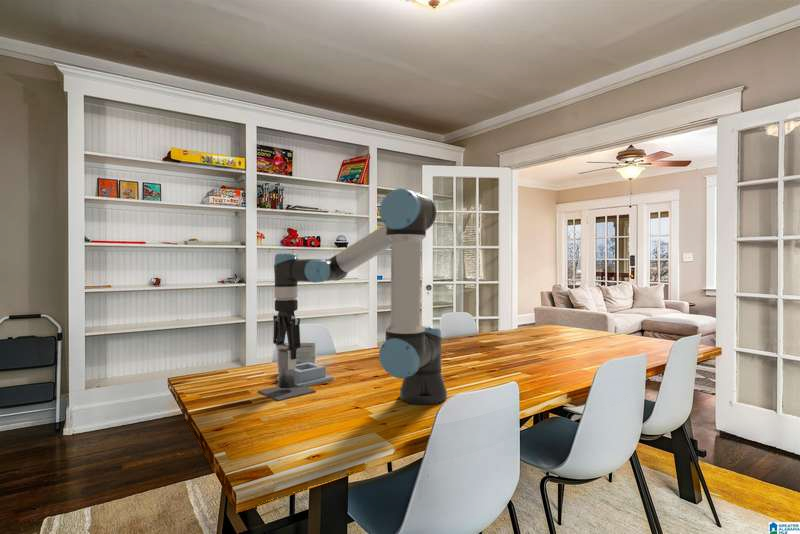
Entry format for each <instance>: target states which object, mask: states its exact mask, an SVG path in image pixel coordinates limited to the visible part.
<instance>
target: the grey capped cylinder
mask: <svg viewBox="0 0 800 534" xmlns="http://www.w3.org/2000/svg"><path fill="white" fill-rule="evenodd" d="M277 349H278V366H277V367H278V370H277V371H278V376H277V377H278V381H277V382H278V383H277V384H278V385H277V386H279V388H291V387H294V386H295V369H291V370H288V350H287V349H289V344H288V342H286V343H285V342H284V343H282V344H278V345H277V346H276V350H277Z"/></svg>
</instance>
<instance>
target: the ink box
mask: <svg viewBox="0 0 800 534" xmlns="http://www.w3.org/2000/svg"><path fill="white" fill-rule="evenodd" d="M307 362H311V363H315V364H317V341H315V340H311V341H309V340H308V341H306V340H305V341H304V340H302V341H301V340H300V348H297V349H296V364H302V363H307Z"/></svg>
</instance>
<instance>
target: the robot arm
mask: <svg viewBox="0 0 800 534" xmlns="http://www.w3.org/2000/svg"><path fill="white" fill-rule="evenodd" d="M380 203H381V204H380V206H379V217H380V220H381V221H382V223H383V224H384V225H381V226H380V227H378V228H376V229H375V230H374V231H372V232H370V233H369V234H366V235H364V237H362V238H361V239H358V240H357V241H356V242H354V243H353V244H350V246H348V247H346V248H345V249H342V250H341V251H340V252H338V253H337V254H335V255H333V256H332V257H330V258H327V259H326V258H322V259H321V258H306V259H305V258H301V259H299V258H298V254H297V253H292V252H291V253H288V252H287V253H276V254H275V256H274V261H273V262H274V265H273V269H274V271H273V272H274V286H273V287H274V289H273V290H274V311H275V312H277V315H276V314H275V315H273V339H272V341H273V344H274V345H275V347H277V345H278V344H282V343H285V340H286V337H287V343H288V344H289V349H287V350H288V370H291V369H296V349H297V348H300V341H301V332H300V331H301V330H300V322H301V319H300V317H296V315H295V312H296V311H298V305H299V303H298V302H299V301H298V299H297V298H298V291H299V290H298V283H300V282H302V283H324V282H330V281H335V282H336V281H340V280H343V279H345V278H346V277H347V275H348V274H349V273H350V272H352V271H353V270H355V269H357V268H358V267H360V266H361V265H363V264H365V263H366V262H368V261H370V260H371V259H373V258H375V257H377V256H378V255H380V254H382V253H384V252H386V251H387V250H389V249H390V248H391V250H390V251H391V252H390V253H391V254H390V259H391V260H390V262H391V263H390V266H391V267H390V268H391V269H390V270H391V271H390V276H391V277H390V324H389V325H388V326H387V327H386V328H385V341H383V343H382V345H381V347H380V348H379V352H378V359H379V362H380V364H381V367H382V369H383V370H384V371H385V372H386V373H387V374H388V375H389V376H392V377H393V378H397V379H403V380H402V384H401V387H400V390H399V399H400V400H401V401H403V402H406V403H407V404H413V405H420V406H421V405H422V406H423V405H426V406H427V405H437V404H439V402H440V403H442V401H443V402H445V401H446V400H447V399H448V398H447V397H448V393H447V392H448V391H447V388H446V385H445V382H444V379H443V375H442V338H443V337H442V331H441V329H440V328H439V327H437V326H424V325H422V324H421V243H422V241H423V240H424V239H425V238H426V237H427V236H426V234H427V230H429V229H431V227H432V226H433V224H435V221H436V219H437V208H436V205H435V203H434V201H433V200H432V199H431V198H430V197H429V196H427V195H425V194H422V193H419V192H416V191H414V190H412V189H410V188H408V189H407V188H396V189H393V190H392V191H391V190H390V191H389V192H388V193H387V194H386V195H385V196H384V198H383V199H382V201H381V202H380ZM276 358H277V359H276V363H277V365H276V366H277V367H278V349H277V348H276ZM444 400H445V401H444Z"/></svg>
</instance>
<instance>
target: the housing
mask: <svg viewBox="0 0 800 534" xmlns="http://www.w3.org/2000/svg"><path fill="white" fill-rule="evenodd" d="M326 370H327V368H326V366H324V365H320V364H317V363H316V364H315V363H311V362H307V363H302V364H296V369H295V387H302V386H305V387H310V386H314V385H315V386H316V385H319V384H323V383H328V382H331V381H334V376H331V375H328V374H327V371H326ZM275 378H276V381H277V382H278V376H276V377H275Z"/></svg>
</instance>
